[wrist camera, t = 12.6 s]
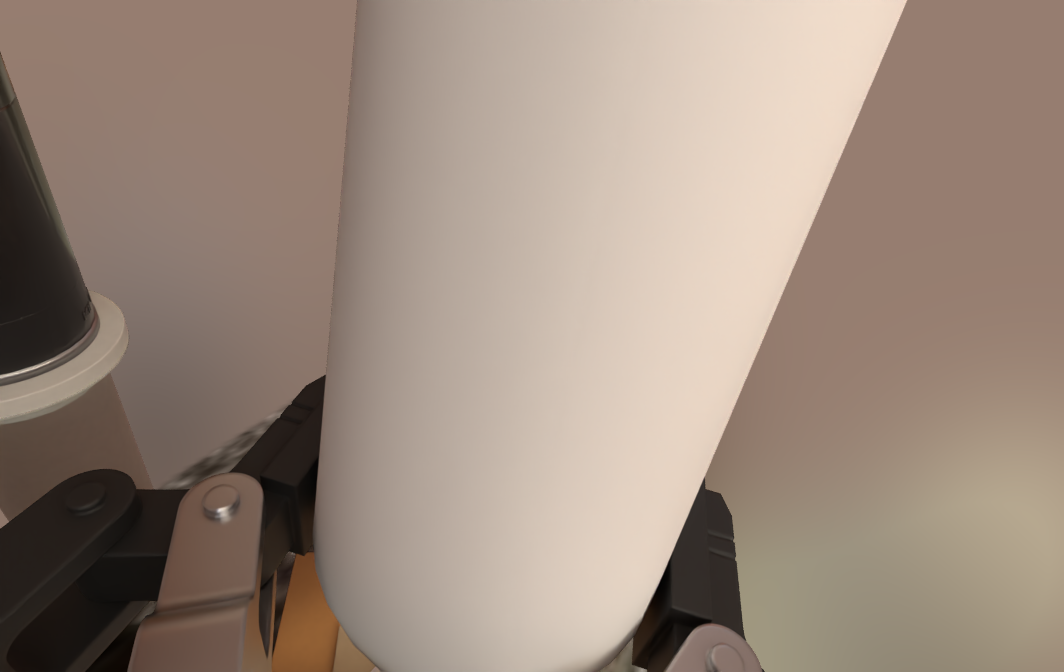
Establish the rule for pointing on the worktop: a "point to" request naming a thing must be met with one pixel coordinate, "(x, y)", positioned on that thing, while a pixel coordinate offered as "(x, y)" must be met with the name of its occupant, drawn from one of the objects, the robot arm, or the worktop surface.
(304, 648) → the wooden coaster block
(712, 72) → the champagne flute
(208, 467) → the worktop surface
